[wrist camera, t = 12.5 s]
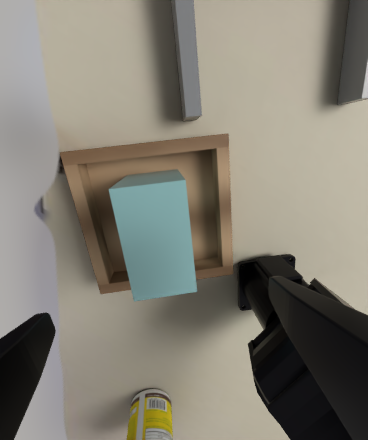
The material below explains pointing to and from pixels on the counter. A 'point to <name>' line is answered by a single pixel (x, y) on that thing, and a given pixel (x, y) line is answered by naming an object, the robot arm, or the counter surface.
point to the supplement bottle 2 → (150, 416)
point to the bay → (351, 64)
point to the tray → (144, 163)
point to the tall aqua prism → (155, 233)
